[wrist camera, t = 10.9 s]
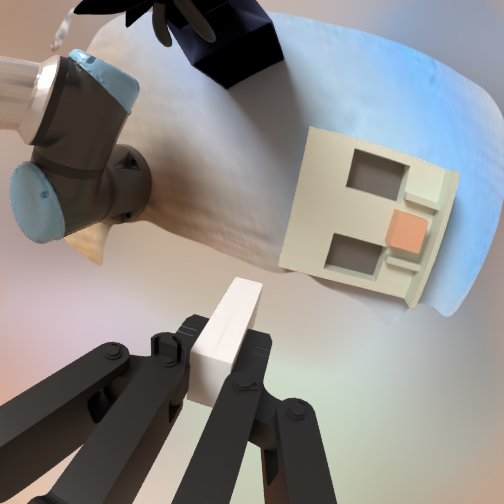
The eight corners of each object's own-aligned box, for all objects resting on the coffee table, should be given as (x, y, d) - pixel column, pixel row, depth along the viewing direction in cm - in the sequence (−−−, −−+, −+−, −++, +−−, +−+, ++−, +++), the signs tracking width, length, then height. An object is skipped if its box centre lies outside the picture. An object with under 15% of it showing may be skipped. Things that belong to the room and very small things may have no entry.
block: (384, 239, 41) (389, 245, 38) (394, 208, 39) (399, 212, 37) (412, 247, 41) (418, 253, 38) (422, 217, 39) (428, 221, 36)
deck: (279, 260, 49) (274, 275, 43) (309, 128, 41) (309, 123, 35) (404, 291, 46) (414, 309, 40) (442, 170, 38) (460, 173, 32)
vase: (214, 105, 43) (39, 41, 10) (185, 55, 40) (28, -28, 8) (292, 64, 38) (239, -98, 6) (258, 14, 36) (172, -131, 3)
